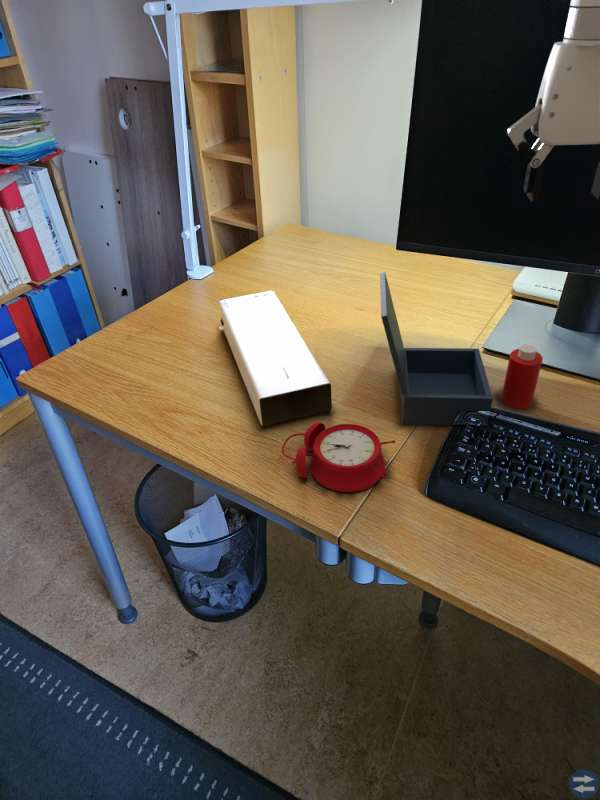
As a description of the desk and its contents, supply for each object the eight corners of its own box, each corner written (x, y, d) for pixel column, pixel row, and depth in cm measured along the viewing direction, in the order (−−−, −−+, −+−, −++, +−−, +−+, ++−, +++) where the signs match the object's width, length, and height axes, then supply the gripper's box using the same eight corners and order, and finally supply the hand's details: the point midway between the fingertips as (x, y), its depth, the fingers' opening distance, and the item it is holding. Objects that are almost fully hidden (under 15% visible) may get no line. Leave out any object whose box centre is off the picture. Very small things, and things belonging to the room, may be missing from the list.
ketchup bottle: (528, 391, 90) (540, 340, 84) (534, 409, 86) (548, 357, 81) (498, 391, 91) (509, 340, 85) (504, 408, 87) (515, 356, 81)
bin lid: (385, 271, 85) (380, 273, 85) (387, 315, 74) (381, 316, 74) (403, 344, 92) (398, 345, 92) (407, 393, 82) (402, 395, 82)
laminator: (332, 415, 88) (331, 383, 84) (256, 433, 85) (252, 400, 82) (276, 317, 114) (273, 289, 110) (216, 328, 112) (212, 300, 108)
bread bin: (474, 375, 94) (478, 348, 91) (487, 426, 84) (493, 398, 81) (398, 373, 96) (400, 347, 93) (402, 424, 85) (404, 396, 82)
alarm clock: (386, 482, 71) (276, 443, 73) (374, 512, 75) (269, 474, 77) (400, 430, 78) (300, 396, 80) (388, 460, 83) (293, 427, 84)
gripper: (677, 19, 61) (627, 187, 71) (511, 28, 63) (487, 190, 73) (710, 24, 55) (650, 206, 65) (526, 34, 57) (497, 209, 67)
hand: (564, 196), depth 69 cm, fingers open, 7 cm apart
